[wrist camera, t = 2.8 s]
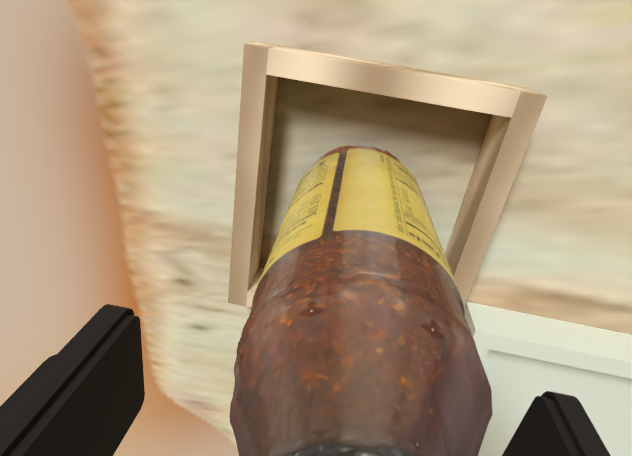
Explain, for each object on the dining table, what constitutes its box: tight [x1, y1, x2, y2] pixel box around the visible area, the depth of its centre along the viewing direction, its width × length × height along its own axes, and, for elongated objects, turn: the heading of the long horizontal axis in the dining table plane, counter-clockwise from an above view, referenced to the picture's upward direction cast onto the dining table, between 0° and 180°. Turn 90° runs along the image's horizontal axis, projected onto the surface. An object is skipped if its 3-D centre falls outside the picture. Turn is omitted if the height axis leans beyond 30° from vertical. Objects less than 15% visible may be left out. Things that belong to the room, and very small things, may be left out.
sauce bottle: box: [230, 146, 492, 456], centre depth 12 cm, size 6×6×20 cm
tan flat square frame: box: [228, 42, 547, 307], centre depth 20 cm, size 12×13×2 cm
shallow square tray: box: [464, 301, 632, 456], centre depth 25 cm, size 14×14×2 cm
